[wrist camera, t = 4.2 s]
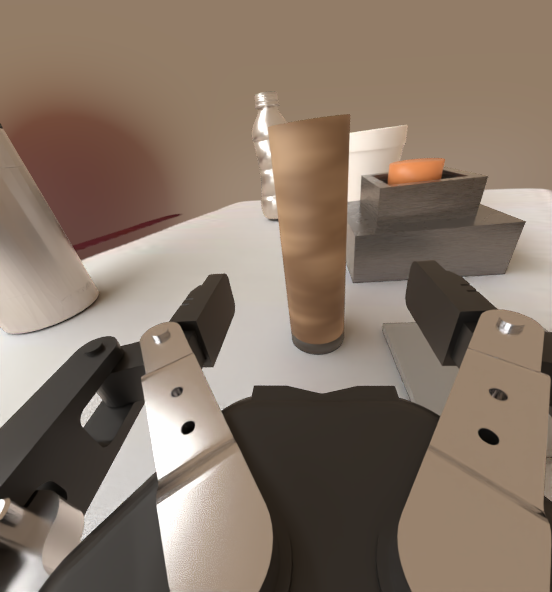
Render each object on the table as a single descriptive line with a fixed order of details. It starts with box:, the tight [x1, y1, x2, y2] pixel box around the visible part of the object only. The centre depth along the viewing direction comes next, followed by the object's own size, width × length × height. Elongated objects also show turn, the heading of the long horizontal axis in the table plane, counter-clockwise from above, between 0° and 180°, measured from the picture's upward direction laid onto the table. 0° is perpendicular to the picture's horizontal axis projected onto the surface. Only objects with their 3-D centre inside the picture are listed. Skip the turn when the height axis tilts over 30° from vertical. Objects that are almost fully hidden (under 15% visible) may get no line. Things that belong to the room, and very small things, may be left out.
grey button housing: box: [346, 167, 526, 283], centre depth 28 cm, size 14×14×8 cm
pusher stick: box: [268, 114, 350, 354], centre depth 16 cm, size 4×4×14 cm
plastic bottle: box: [252, 91, 287, 219], centre depth 45 cm, size 6×7×20 cm
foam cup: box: [348, 125, 408, 202], centre depth 41 cm, size 10×9×13 cm
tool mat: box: [382, 318, 552, 457], centre depth 15 cm, size 10×9×1 cm
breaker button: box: [387, 158, 445, 185], centre depth 26 cm, size 5×5×2 cm
